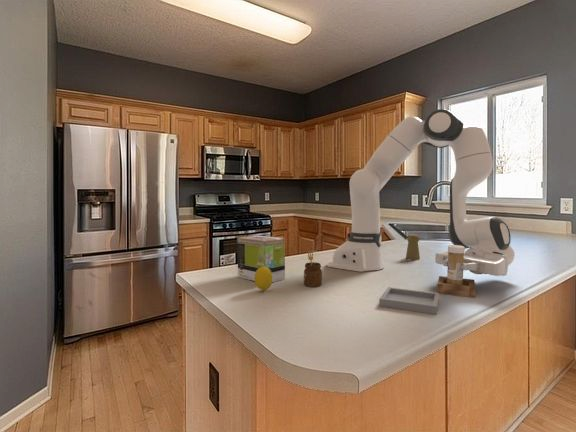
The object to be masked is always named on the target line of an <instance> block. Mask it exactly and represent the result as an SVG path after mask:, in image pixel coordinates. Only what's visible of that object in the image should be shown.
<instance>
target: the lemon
mask: <svg viewBox="0 0 576 432" xmlns="http://www.w3.org/2000/svg"><path fill="white" fill-rule="evenodd" d="M254 284H255V286H256V287H257V289H259V290H261V291H262V292H265V291H266V290H268V289H269V288H270V287H271V286H272V284H273V282H272V273H271V271H270V269H268V268H267V267H265V266H262V267H260V268H259V269H257V271H256V273H255V281H254Z"/></svg>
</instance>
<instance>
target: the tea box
mask: <svg viewBox="0 0 576 432" xmlns="http://www.w3.org/2000/svg"><path fill="white" fill-rule="evenodd" d="M236 240H237V241H236V242H237V246H236V247H237V277H238V278H240V279H245V280H249V281H254V282H255V273H256V271H257V269H259V268H260V267H262V266H265V267H267V268H268V269H270V271H271V273H272V283H275V282H279V281H282V280H285V279H286V254H285V253H286V252H285V249H286V248H285V247H286V245H285V244H286V243H285V238H284V237H277V236H276V237H275V236H267V235H266V236H265V235H250V236H248V235H247V236H241V237H237V238H236Z"/></svg>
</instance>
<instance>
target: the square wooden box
mask: <svg viewBox="0 0 576 432" xmlns="http://www.w3.org/2000/svg"><path fill="white" fill-rule="evenodd" d="M436 293H439V294H443V295H451V296H459V297H468V298H476V282H475V279H472V278H463V283H462V285H456V284H447V276H443V275H441V276H440V275H439V276H438V279H437V283H436Z"/></svg>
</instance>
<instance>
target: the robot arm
mask: <svg viewBox="0 0 576 432" xmlns="http://www.w3.org/2000/svg"><path fill="white" fill-rule="evenodd" d="M422 143H423V144H425V145H428V146H430V147H434V148H438V149H441V148H442V149H444V148H447V147H450V148H451V149H452V151H453V154H454V161H455V172H454V176H453V178H451V180H450V182H449V228H448V239H449V241H450V243H452V245H460V246H464V247H465V252H464V262H463V264H461V270H463V271H469V272H470V273H472V274H474V275H490V276H496V277H500V276H503V277H504V276H507V275H508V267H509V266H511V264H512V263H513V262H514V260H515V256H516V255H515V250H514V249H513V247H512V246H511V245H510V244H511V240H512V239H511V238H512V237H511V231H510V229H509V227H508V225H507V223H505V221H504V220H502V219H501V218H500V217H498V216H488V217H487V216H486V217H481V218H477V219H476V218H475V219H470V220H468V219H467V205H466V204H467V203H466V201H467V196H468V194H469V193H470V191H472V190H473V189H474V188H476V187H477V186H479V185H480V184H482V183H483V182H484V181H485V180H487V179H488V177H489V176H490V175H491V174H492V171H493V169H494V161H493V155H492V151H491V150H492V149H491V147H490V143H489V140H488V138H487V136H486V133H485V131H484V129H483V128H482V127H481V126H478V125H467V126H464V122H462V121H461V119H460V118H458V117H457V115H455V114H454V113H453V112H452V111H450V110H448V109H446V108H439V109H435V110H433V111H432V112H430V113H429V114H428V115H427V117H426V118H425V119H424V120H422V119H420V118H419V117H416V116H408V117H406V118H404V119H403V120H402V121H400V122H399V123H398V124H397V125H396V126H395V127H394V128H393V129H392V130H391V131H390V132H389V134H388V135H387V136H386V137H385V138H384V140H383V141H382V142H381V144H380V145H379V146H378V147H377V148H376V149H375V151H374V152H373V154H372V156H371V157H370V158H369V160H368V161H367V163H366V164H365V166H364V167H363V168H362V169H358V170H355V172H354V173H353V174H352V175H351V177H350V179H349V195H350V207H351V231H349V232H348V233H347V234H346V236H345V237H346V239H347V240H346V241H345V242H344V243H341V245H340V246H337V248H336V249H335V250H334V252H333V256H332V260H329V261H328V262H327V263H326V265H327V267H328V268H334V269H340V270H347V271H354V272H358V273H359V272H368V271H378V270H382V269H384V267H385V266H384V263H383V258H382V257H383V256H382V252H381V251H382V250H381V247H382V233H381V206H380V191H381V190H382V189H383V187H384V186H385V185H386V184H387V183H388V181H390V180H391V178H392V177H393V175H394V174H395V173H396V172H397V170H398V169H399V168H400V167H401V166H402V164H403V163H404V162H405V161H406V160H407V158H408V157H410V155H411V154H412V153H413V152H414V150H415V149H416V148H417V147H418V146H419V145H420V144H422ZM434 260H435V263H436V264H438V265H443V266H444V267H447V268H448V251H438V252H435V256H434Z"/></svg>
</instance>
